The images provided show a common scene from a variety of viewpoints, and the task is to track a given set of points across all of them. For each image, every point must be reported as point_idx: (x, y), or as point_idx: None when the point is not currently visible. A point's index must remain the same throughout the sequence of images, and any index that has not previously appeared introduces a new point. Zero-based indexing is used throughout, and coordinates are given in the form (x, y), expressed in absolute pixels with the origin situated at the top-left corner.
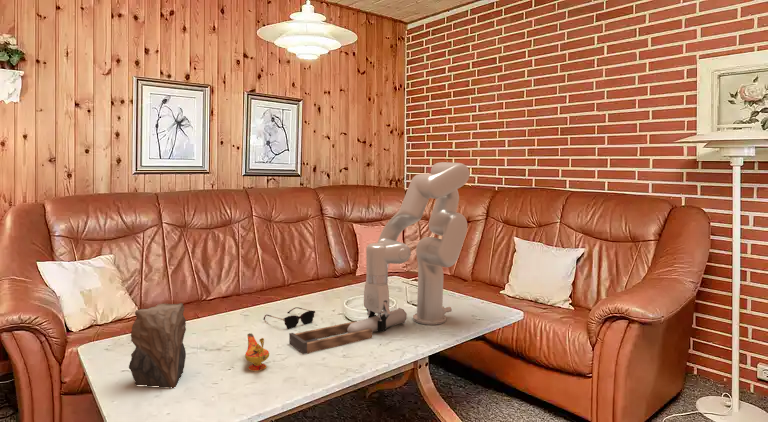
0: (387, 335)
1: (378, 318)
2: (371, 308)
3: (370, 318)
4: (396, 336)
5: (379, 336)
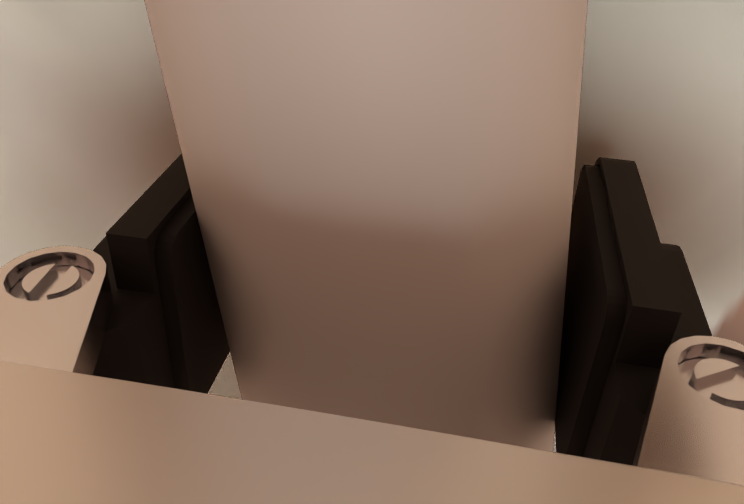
0: (115, 174)
1: (287, 361)
2: (139, 499)
3: (387, 193)
4: (24, 245)
5: (124, 27)
